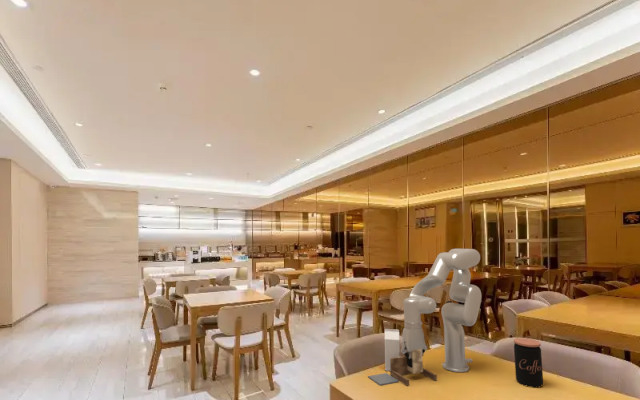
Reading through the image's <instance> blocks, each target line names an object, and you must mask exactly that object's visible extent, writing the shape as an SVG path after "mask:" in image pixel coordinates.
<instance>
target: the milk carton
mask: <svg viewBox="0 0 640 400" xmlns="http://www.w3.org/2000/svg"><path fill="white" fill-rule="evenodd" d="M400 345H401V344H400V329H390V328H384V368H385V369H384V370H385V371H387V372H388V371H389V372H391V367H390V358H395V357H401V355H400V354H401V352H400V350H401V349H400Z"/></svg>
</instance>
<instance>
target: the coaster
mask: <svg viewBox="0 0 640 400" xmlns="http://www.w3.org/2000/svg"><path fill="white" fill-rule="evenodd" d="M367 378H368V379H370V380H371V381H373V383H376V385H378V386H386V385H392V384H396V383H399V382H400V381H398V380H397V379H395V378H393V377H392V376H391V374H390V373H387V372H384V373H378V374H374V375H368V376H367Z"/></svg>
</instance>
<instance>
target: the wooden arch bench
mask: <svg viewBox="0 0 640 400" xmlns="http://www.w3.org/2000/svg"><path fill="white" fill-rule="evenodd" d="M390 367H391V371H390V376H392V377H393V378H395V379H397V380H398V381H399V382H400V383H401V384H403V385H404V386H406V387H409V386H410V379H409V378H407V377H406V376H404V375H411V374H413V373H412V372H410V371H409V370H407V357H405V355H402V356H401V355H400V357H395V358H390ZM418 374H421V375H423V376H425V377H427V378H428V379H430V380H432V381H434V382H436V381H437V380H438V375H437V374H435V373H434V372H432V371H430V370H429V369H427V368H425V367H423V372H419V373H418Z"/></svg>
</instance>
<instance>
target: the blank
mask: <svg viewBox="0 0 640 400" xmlns="http://www.w3.org/2000/svg"><path fill="white" fill-rule="evenodd" d="M408 355H409V354H408ZM411 358H412V368H411V367H409V366H407V370H409V371H410V372H412V373H411V374H420V373H419V372H423V368H424V367H423V366H424V365H423V356H422V349H418V350H413V351H412V355H411Z"/></svg>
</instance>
